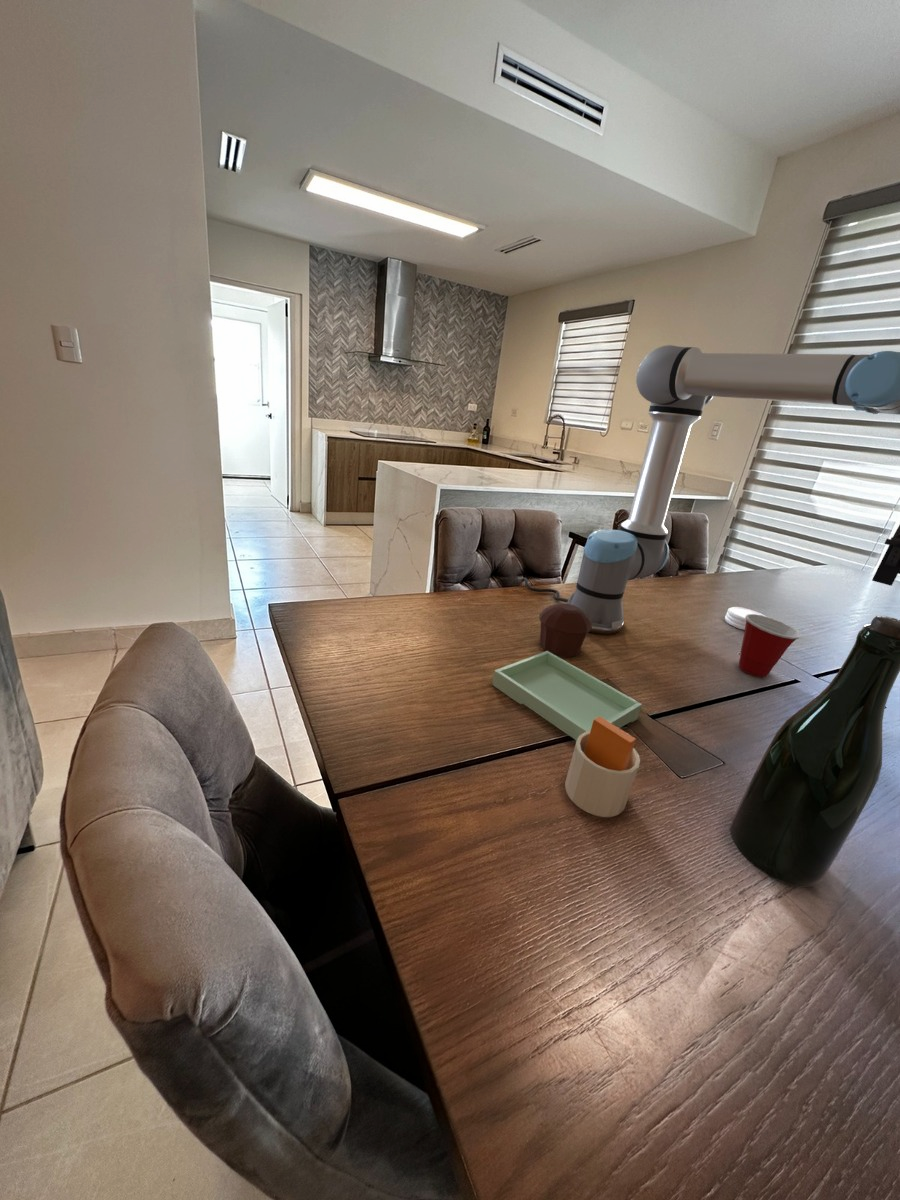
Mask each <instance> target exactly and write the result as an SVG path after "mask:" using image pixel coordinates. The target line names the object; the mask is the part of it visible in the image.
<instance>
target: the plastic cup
mask: <svg viewBox="0 0 900 1200" xmlns="http://www.w3.org/2000/svg"><path fill="white" fill-rule="evenodd" d="M762 615H763V614H762ZM762 615H757V614H747V615H746V617H745V618H746V624H745V625H746V626H745V630H744V632H743V639H742V643H741V647H740V656H739V659H738V667H739V669H740V670H741V671H743V672H744V673H746V674H748V675H750V676H754V677H758V678H766V677H767V676H768V675H769V674H770V672H771V671H772V670H773V669H774V667H775V666H776V665H777V664H778V662H779V661H780V660H781V658H782V656H784V654H785V652H786V651H787V650H788V648H789V647H791V645H792V644H793V643H794V642H796V640H798V639H800V638H801V637H802V636H803V635H802V634H801V632H800V631H799V630H797V629H796V628H795V627H793V626H791V625H789V624H787V623H785V622H783V621H780V620H778V619H775V618H773V617H769V616H767V615H764V616H762Z"/></svg>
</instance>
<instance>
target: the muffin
mask: <svg viewBox="0 0 900 1200" xmlns="http://www.w3.org/2000/svg"><path fill="white" fill-rule="evenodd" d="M538 619H539V621H540V636H539V644H540V646H541V647H542V649H543V650H544V652H545V651H549V652H550V653H552V654H554V655H556V656H557V657H564V658H570V657H575V656H578V655H579V652H580V650H581V648H582V646H583V643H584V641H585V639H586V636H587V634H588V633H590V632H589V631H590V630H591V629H592V624H591V622H590V618H589V617H588V615H587V614H586V613H585V612H583V611H582V610H581V609H580V608H578V607H576V606H574V605H570V604H566V603H565V602H561V603H555V604H551V605H549V606H547V607H545V608H544V609H543V610H542V611H541V612H540V613H539V618H538Z"/></svg>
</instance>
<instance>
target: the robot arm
mask: <svg viewBox="0 0 900 1200" xmlns="http://www.w3.org/2000/svg"><path fill="white" fill-rule="evenodd" d="M635 384H636V388H637V391H638V392H639V394H640V396H641V397H642V398H643V399H645V400H646V401H648V402H650V404H649V408H648V411H647V412H648V415H649V417H650V418H651V420H652V424H651V428H650V432H649V436H648V440H647V444H646V447H645V451H644V456H643V460H642V463H641V467H640V472H639V476H638V478H637V479H638V480H637V483H636V488H635V492H634V495H633V499H632V503H631V507H630V511H629V515H628V518H627V519H626V520H624V521H622V522H621V523H620V526H619V529H600V530H596V531H593V532H592V533H590V534H589V536H588V537H587V540H586V543H585V545H584V548H583V555H582V559H581V562H580V563H581V564H580V567H579V573H578V577H577V580H576V585H575V589H574V591H573V592H572V594H571V595H570V597H569V598H564V597H559V596H560V592H559V591H558V590H557V589H554V588H536V587H532V586H531V585H530V584H529V581H528V580H529V579H528V577H522V578H521V580H520V581H521V582H524V585H525V587H526V588H527V589H528V590H529V591H531V592H536V593H554V595H553V599H554V600H555V601H557V602H562V603H565V604H570V605H574V606H576V607H578V608H580V609H581V610H582V611H583V612H585V613H586V614H587V615H588V617H589V618H590V622H591V624H592V629H591V630H590V631H589V632H588V633H594V634H598V635H599V634H600V635H611V634H612V635H613V634H617V633H619V632H621V631H622V629H623V625H624V609H623V607H624V606H623V597H624V594H625V590H626V588H627V587H626V586H627V583H628V581H629V582H630V581H633V580H636V579H642V578H643V579H644V578H648V577H650V576H653V575H655V574H657V573H658V572H659V571H660V570H662V569H663V568H664V567H665V565H666V564H667V562H668V559H669V556H670V547H669V544H668V543H667V537H668V533H669V531H668V529H667V528H666V526H665V520H666V518H667V513H668V509H669V507H670V502H671V499H672V497H673V496H672V495H673V492H674V489H675V488H674V487H675V484H676V481H677V478H678V475H679V470H680V467H681V464H682V460H683V456H684V452H685V449H686V447H687V446H686V445H687V442H688V438H689V436H690V432H691V428H692V426H693V424H695V423H696V422H697V421H699V420H700V419H701V418H702V415H703V411H704V409H705V406H706V405H707V404H708V403H710V402H711V401H712V400H713V399H714V397H716V398H718V397H719V398H731V399H732V398H733V399H748V400H759V401H760V400H761V401H775V402H779V401H780V402H792V403H806V404H807V403H808V404H819V405H820V404H821V405H822V404H823V405H834V406H835V405H837V406H842V407H845V406H846V407H852V409H853V410H854V411H857V412H863V413H868V414H873V415H876V414H884V415H885V414H886V415H899V416H900V351H894V350H882V351H877V352H874V353H872V354H852V353H851V354H850V353H849V354H846V353H845V354H844V353H843V354H841V353H740V352H739V353H738V352H737V353H735V352H731V353H729V352H728V353H727V352H725V353H724V352H703V351H702V350H701V348H700V347H696V346H678V345H672V344H668V345H662V346H659V347H657V348H654V349H653V350H651V351H650V352H649V353H647V354H646V355H645V357H644V358H643V359H642V361H641V362H640V364H639V366H638V368H637V371H636V377H635ZM884 545H888V547H887V548H886V551H885V553H884V555H883V557H882V559H881V561H880V562H879V565H878V567H877V569H876V571H875V573H874V575H873V576H872V579H871V581H872V582H875V583H879V584H883V585H887V586H891V587H893V584H894V583H895V580H896V578H897V576H898V575H900V524H899V525H898V527H897V529H896V531H895V532H894V534H893V536H892V537H891V538H886V539H885V541H884Z"/></svg>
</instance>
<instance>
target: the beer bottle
mask: <svg viewBox="0 0 900 1200" xmlns="http://www.w3.org/2000/svg"><path fill="white" fill-rule="evenodd" d="M849 651H850V652H849V654H848V655H847V657H846V658H845V660H844V662H843V664H842V665H841V667H840V669H839V671H838V672H837V673H836V675H835V676H834V678H833V679H832V681H831V682H830V683H829V684H828V685H827V686H826V687H825V688H824V689H823V690H822V691H821V692H820V693H819V694H818V695H817V696H816V697H815V698H813V699H812V700H811V701H809V702H808V703H807V704H806V705H804V706H803V707H802V708H800V709H799V710H797V711H796V712H795V713H794V714H793V715H791V716H790V717H789V718H788V719H786V720H785V722H784V723H783V724H782V725H781V727H780V728H779V729H778V730H777V731H776V733H775V734H774V736H773V738H772V740H771V742H770V743H769V745H768V747H767V748H766V750H765V752H764V753H763V756H762V758H761V760H760V761H759V764H758V766H757V768H756V769H755V772H754V773H753V776H752V777H751V780H750V782H749V784H748V786H747V787H746V790H745V791H744V793H743V796H742V798H741V800H740V802H739V803H738V806H737V807H736V810H735V812H734V813H733V816H732V819H731V822H730V824H729V832H730V833H729V834H730V835H731V836H730V837H731V839H732V841H733V843H734V845H735V846H736V848H737V850H738V851H739V852H740V853H741V855H743V856H744V858H745V859H746V860H747V861H749V862H750V863H751V864H752V865H753V866H754V867H756V868H757V869H759V870H760V871H761V872H762V873H765V874H766V875H767V876H769V878H772V879H774V880H776V881H779V882H780V883H783V884H786V885H789V886H794V887H799V888H801V887H802V888H807V887H812V886H813V887H814V886H816V885H818V884H819V883H821V882H822V880H823V879H824V878H825V876H826V875H827V873H829V871H830V868H831V867H832V865H834V862H835V861H836V858H837V857H838V855H839V853H840V852H841V850H842V848H843V847H844V845H845V843H846V840H847V839H848V837H849V836H850V834H851V833H852V831H853V829H854V827H855V825H856V823H857V822H858V820H859V818H860V816H861V815H862V813H863V811H864V809H865V808H866V805H867V803H868V802H869V800H870V798H871V796H872V794H873V792H874V790H875V788H876V786H877V784H878V782H879V778H880V774H881V770H882V766H883V720H884V713H885V708H886V705H887V702H888V699H889V697H890V693H891V691H892V689H893V686H894V684H895V682H896V680H897V678H898V676H899V674H900V619H899V618H895V617H891V616H887V615H875V616H874V617H873V618H872V619H871V622H870V624H865V625H863V626H862V628H861V629H860V630H859V631H858V633H857V635H856V639H855V641H854V644H853V645H852V648H851V650H849Z"/></svg>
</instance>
